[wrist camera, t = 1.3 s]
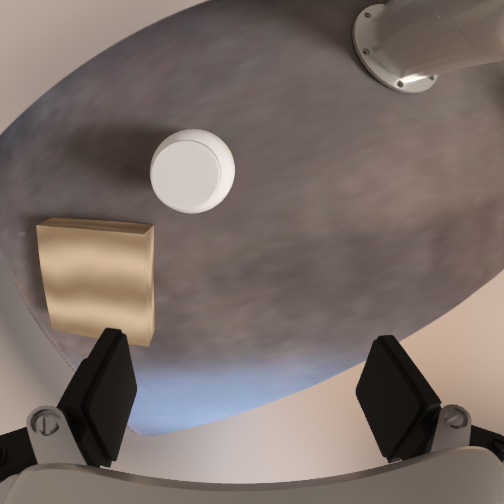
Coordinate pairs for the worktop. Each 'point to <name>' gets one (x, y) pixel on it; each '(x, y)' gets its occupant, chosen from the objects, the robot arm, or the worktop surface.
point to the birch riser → (98, 276)
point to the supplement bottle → (192, 171)
